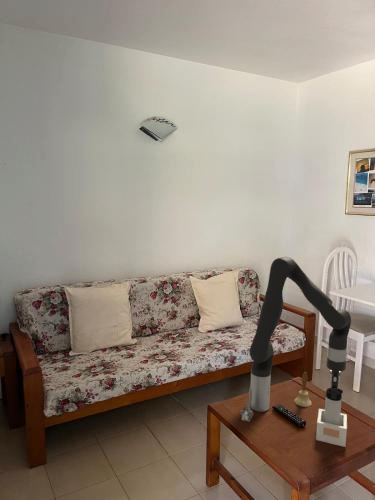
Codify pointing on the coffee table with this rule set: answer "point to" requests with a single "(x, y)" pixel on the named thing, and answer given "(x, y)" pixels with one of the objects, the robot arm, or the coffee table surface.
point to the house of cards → (247, 413)
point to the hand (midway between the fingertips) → (333, 393)
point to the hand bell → (303, 394)
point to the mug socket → (331, 430)
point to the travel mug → (333, 408)
